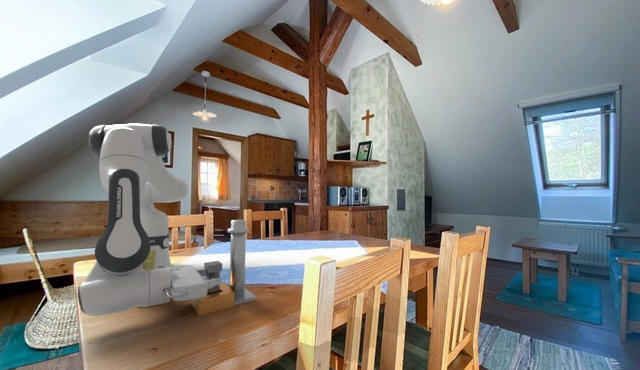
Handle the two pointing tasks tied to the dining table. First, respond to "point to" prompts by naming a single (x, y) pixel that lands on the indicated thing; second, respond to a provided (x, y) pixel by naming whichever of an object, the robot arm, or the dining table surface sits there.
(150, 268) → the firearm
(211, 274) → the grey square peg
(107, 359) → the dining table surface
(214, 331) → the dining table surface
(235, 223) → the metal post on base
